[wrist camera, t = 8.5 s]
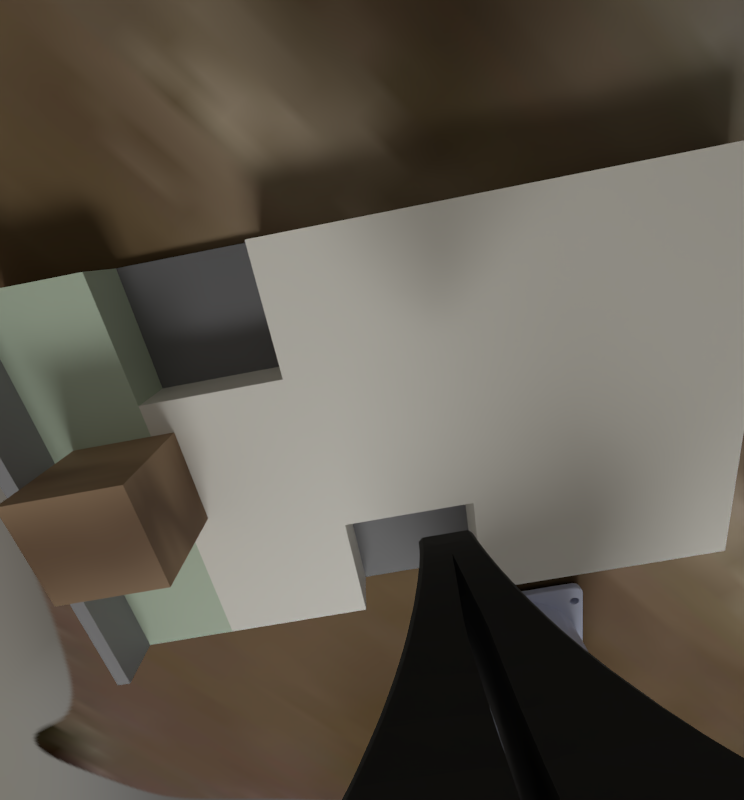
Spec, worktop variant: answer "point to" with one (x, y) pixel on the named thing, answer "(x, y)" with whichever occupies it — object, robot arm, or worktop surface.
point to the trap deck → (408, 390)
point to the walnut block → (108, 520)
